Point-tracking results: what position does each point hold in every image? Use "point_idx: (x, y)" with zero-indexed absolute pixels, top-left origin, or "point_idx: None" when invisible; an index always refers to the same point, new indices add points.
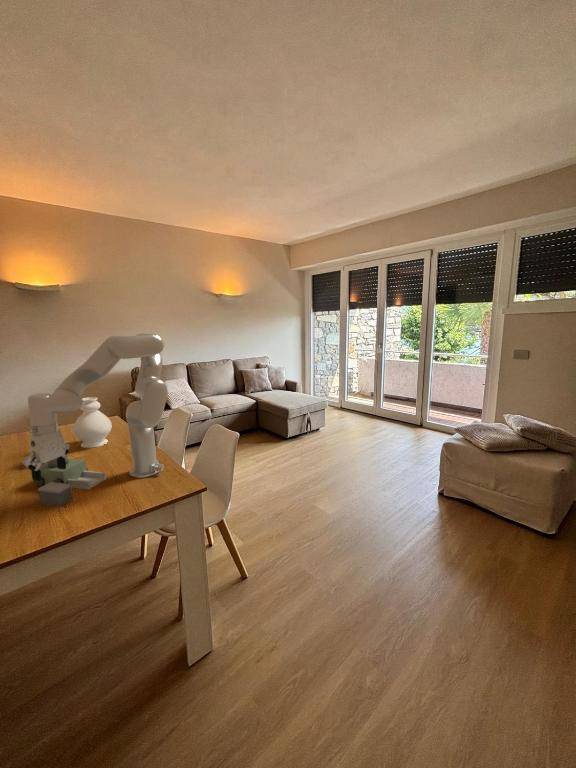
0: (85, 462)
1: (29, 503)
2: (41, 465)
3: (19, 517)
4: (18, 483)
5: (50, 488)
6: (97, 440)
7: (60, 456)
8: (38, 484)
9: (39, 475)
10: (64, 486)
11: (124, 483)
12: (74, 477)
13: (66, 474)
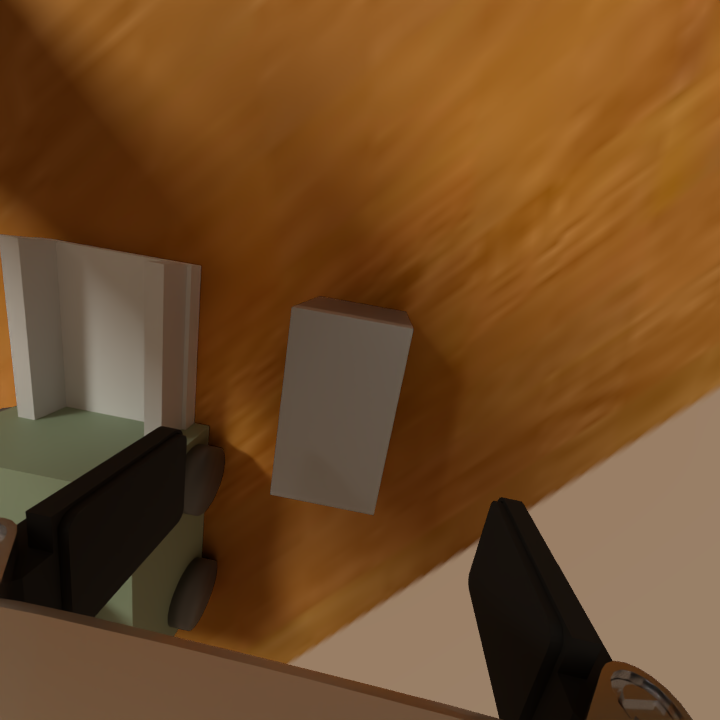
0: None
1: (378, 505)
2: None
3: (515, 461)
4: None
5: (368, 427)
6: None
7: (47, 609)
8: (210, 580)
9: (548, 557)
10: (331, 335)
11: (70, 32)
12: (112, 428)
13: None
